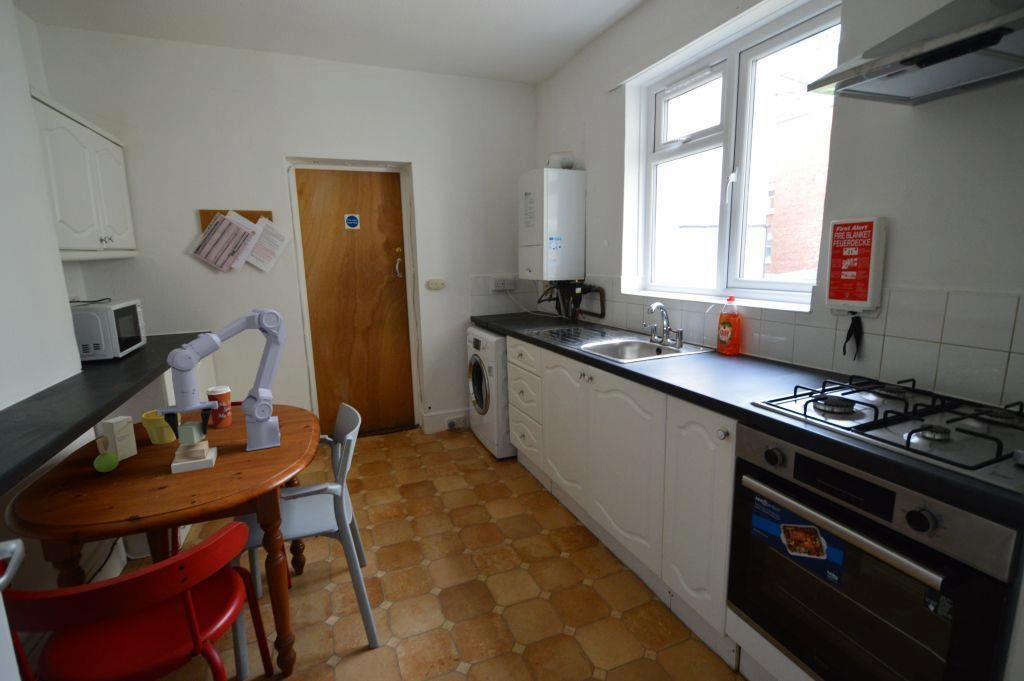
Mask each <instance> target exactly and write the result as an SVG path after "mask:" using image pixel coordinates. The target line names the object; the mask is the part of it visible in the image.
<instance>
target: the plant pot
mask: <svg viewBox="0 0 1024 681" xmlns="http://www.w3.org/2000/svg"><path fill="white" fill-rule="evenodd" d="M177 414H178V423H179V421H180V420H181V421H182V418H181V417H182V416H180V415H181V413H177ZM164 416H165V415H162V416H158V415H157V409H153V410H149V411H147V412H145V413H143V414H141V423H142V426H143V427H144V428H145V429H146V431H147V434H148V436H149V439H150V441H151V443H152V445H166V444H169V443H173V442H174V441H176V440H177V439H176V437H175V434H174V432H173V430H172V429H171V427H170V426H169V424H168V423H167V422H166V421H165V420H164ZM181 421H180V422H181Z"/></svg>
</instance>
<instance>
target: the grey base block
mask: <svg viewBox="0 0 1024 681" xmlns="http://www.w3.org/2000/svg"><path fill="white" fill-rule="evenodd" d="M217 457H218V448H217V446H214V447H209V452H208V454H207V456H206V458H205V459H200V460H193V461H187V462H180V463H177V462H176V456H175V457H174V459H173V460H172V463H171V465H170V468H171V474H180V473H184V472H185V473H186V472H189V471H190V472H191V471H197V470H203V469H209V468H214V467H215V464H216V460H217Z"/></svg>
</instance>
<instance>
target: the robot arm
mask: <svg viewBox="0 0 1024 681" xmlns="http://www.w3.org/2000/svg"><path fill="white" fill-rule="evenodd" d="M245 330H259V331H260V333H261V334H262V335H263V336H264V338H265V339H266V342H265V345H264V347H263V352H262V354H261V359H260V361H259V365H258V369H257V372H256V375H255V376H256V377H255V380H254V383H253V387H252V388H250V389H249V390H248V392H247V395H246V397H244V399H243V401H242V402H241V406H240V407H241V410H242V412H243V413H244V414H245V415H246V416H245V427H246V438H247V442H246V449H245V451H246V452H251V451H257V450H262V449H271V448H275V447H279V446H281V438H282V437H281V436H282V435H281V432H280V425H279V417H278V415H275V416H272V415H273V411H274V408H273V407H274V406H273V401H274V397H273V393H272V390H273V386H274V383H275V380H276V378H275V377H276V375H277V373H278V372H277V371H278V368H279V364H280V360H281V357H282V354H283V350H284V346H285V343H286V339H287V335H286V332H285V327H284V318H283V317H282V315H281V314H280V313H279V312H278V311H276V309H275V310H274V309H272V308H270V309H269V308H263V307H255V308H254V309H252V310H250V311H248V312H247V311H246V312H245V313H244V314H242V315H240V316H239V317H238V318H236V319H234V320H233V321H231V322H229V323H227V325H225V326H223V327H221V329H219V330H217V331H216V332H214V333H212V332H211V333H210V332H205V333H200V334H197V338H196V339H193V340H191V341H189V342H188V343H183V344H181V347H182V348H180V347H179V348H175V349H173V350H171V351H170V352H169V354H168V355H167V358H166V363H167V364H168V366H170V368H171V369H170V370H171V371H170V372H171V379H172V388H173V389H172V390H173V393H174V403H175V404H173V405H168V406H164V407H163V406H162V407H158V408H157V409H156V410H157V415H158V416H162V415H165V416H164V420H165V421H166V422H167V423H168V424H169V426H170V427H171V429H172V430H173V432H174V434H175V437H176V440H177V439H178V440H179V436H178V429H177V427H178V414H177V413H180V414H181V413H182V414H183V413H188V412H189V413H190V412H197V411H200V416H201V421H202V423H203V434H204V435H205V436H206V435H207V434H208V426H209V420H210V417H211V412H212V409H218V402H217V401H200V396H199V389H198V382H197V374H196V370H195V369H196V368H195V367H196V366H197V364H198V362H200V361H202V360H204V359H205V358H206V357H209V356H210V355H211V354H213V353H214V352H217V351H218V350H220V348H221V345H222V343H223V342H226V341H227V340H229V339H231V338H233V337H234V336H236V335H238V334H240V333H242V332H244V331H245Z"/></svg>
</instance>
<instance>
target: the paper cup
mask: <svg viewBox="0 0 1024 681" xmlns="http://www.w3.org/2000/svg"><path fill="white" fill-rule="evenodd" d="M231 391H232V390H231V389H230V386H228V385H217V386H212V387H209V388H207V389H206V392H205V394H206V395H207V400H208V401H207V402H209V401H217V402H218V409H212V412H211V414H210V417H211V420H212V421H211V422H212V426H213V428H214V429H224V428H228V427H231V426H232V422H233V420H232V400H231V398H232V397H231Z"/></svg>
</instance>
